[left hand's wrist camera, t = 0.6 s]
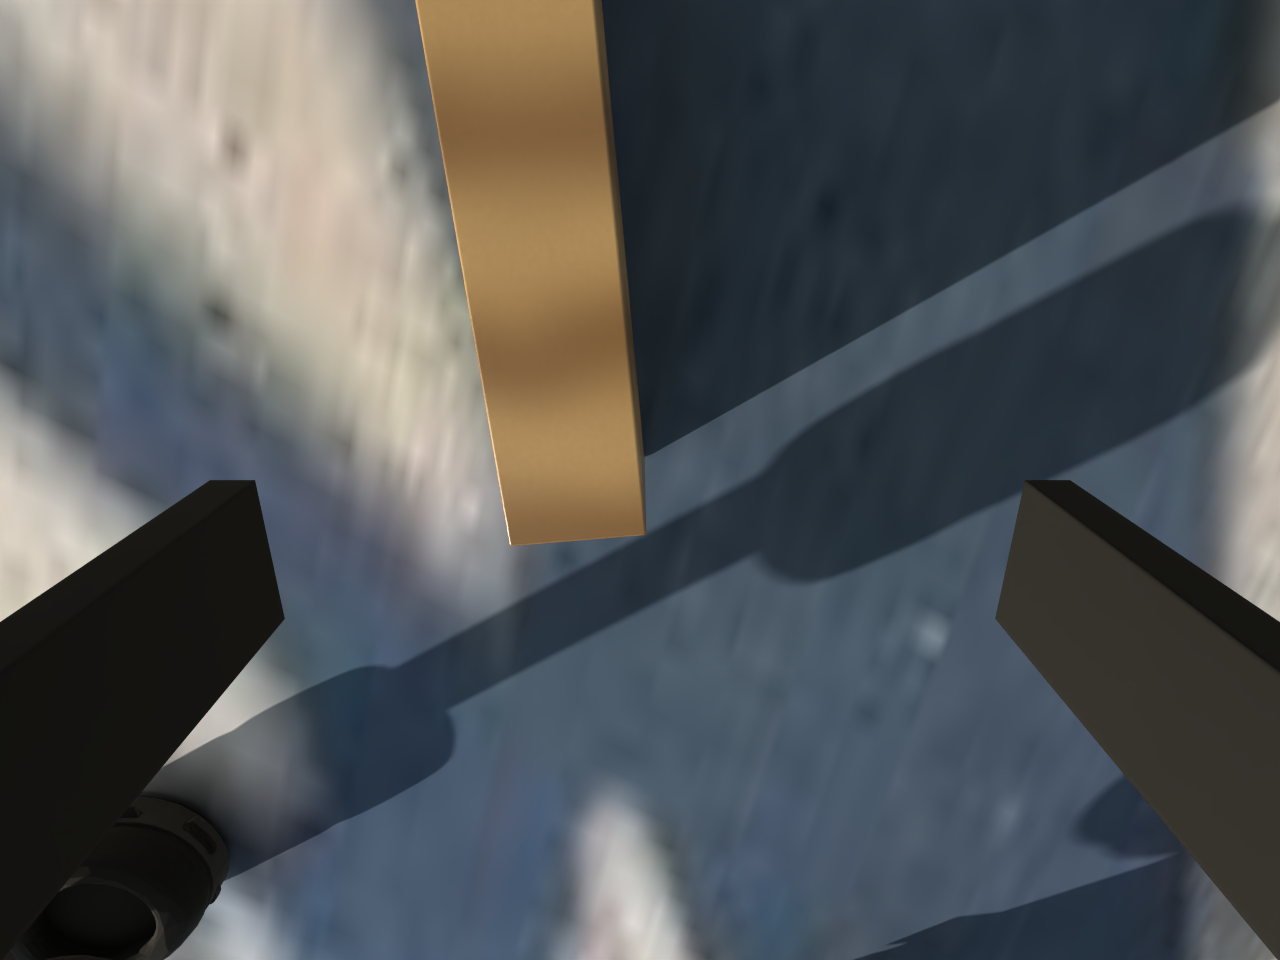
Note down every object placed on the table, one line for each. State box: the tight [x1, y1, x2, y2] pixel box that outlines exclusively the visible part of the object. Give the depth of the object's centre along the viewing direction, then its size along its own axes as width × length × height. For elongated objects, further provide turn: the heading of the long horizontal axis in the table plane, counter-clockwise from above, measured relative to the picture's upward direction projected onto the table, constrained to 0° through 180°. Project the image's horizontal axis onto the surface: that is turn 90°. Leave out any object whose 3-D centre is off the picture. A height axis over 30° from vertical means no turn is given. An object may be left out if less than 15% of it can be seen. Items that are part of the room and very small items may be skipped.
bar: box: [416, 0, 646, 546], centre depth 24 cm, size 25×5×8 cm, turn 5°
